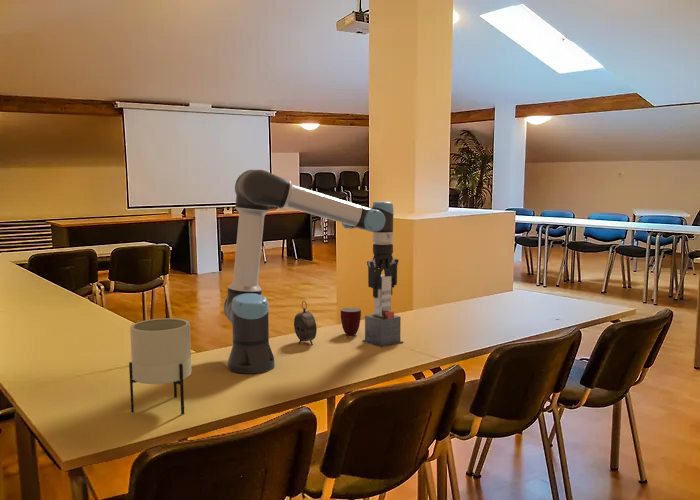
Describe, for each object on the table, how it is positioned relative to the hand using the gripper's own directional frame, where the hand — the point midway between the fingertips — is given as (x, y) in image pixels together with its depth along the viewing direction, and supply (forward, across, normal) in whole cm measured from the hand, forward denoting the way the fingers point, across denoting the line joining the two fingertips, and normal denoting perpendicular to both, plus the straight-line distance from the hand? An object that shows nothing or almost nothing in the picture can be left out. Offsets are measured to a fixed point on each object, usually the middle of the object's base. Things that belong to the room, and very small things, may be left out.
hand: (382, 305), depth 229 cm
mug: (+14, -4, +15) cm, 21 cm away
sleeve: (+14, 0, 0) cm, 14 cm away
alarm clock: (+14, -25, +16) cm, 33 cm away
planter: (+15, -90, -16) cm, 93 cm away
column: (+14, 0, 0) cm, 14 cm away
